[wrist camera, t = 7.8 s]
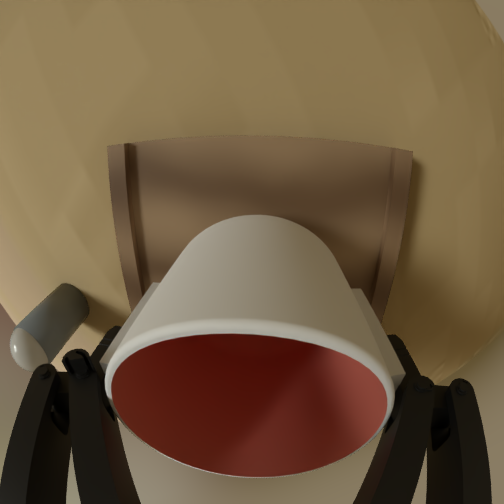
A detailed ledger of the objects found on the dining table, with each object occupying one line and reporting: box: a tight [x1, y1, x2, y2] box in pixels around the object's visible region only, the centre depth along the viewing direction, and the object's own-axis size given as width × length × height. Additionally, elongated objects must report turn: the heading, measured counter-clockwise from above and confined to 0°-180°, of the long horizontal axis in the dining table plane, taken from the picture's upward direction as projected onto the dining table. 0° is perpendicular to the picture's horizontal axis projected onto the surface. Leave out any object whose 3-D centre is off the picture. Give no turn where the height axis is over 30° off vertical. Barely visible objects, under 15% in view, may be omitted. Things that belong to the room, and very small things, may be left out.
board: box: [108, 136, 413, 324], centre depth 18 cm, size 18×18×2 cm
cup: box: [105, 215, 395, 478], centre depth 12 cm, size 10×10×10 cm
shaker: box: [10, 283, 89, 372], centre depth 17 cm, size 4×4×9 cm
